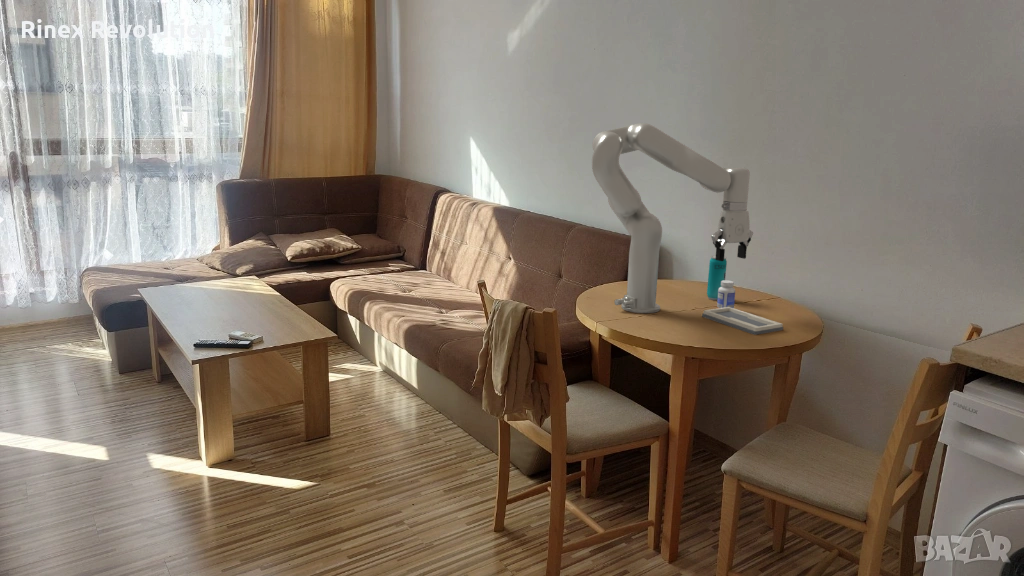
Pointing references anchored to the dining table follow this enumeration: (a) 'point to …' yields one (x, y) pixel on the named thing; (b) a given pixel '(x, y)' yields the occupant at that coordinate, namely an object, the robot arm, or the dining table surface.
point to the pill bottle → (726, 294)
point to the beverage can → (715, 277)
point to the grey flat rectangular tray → (742, 320)
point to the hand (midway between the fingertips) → (730, 259)
